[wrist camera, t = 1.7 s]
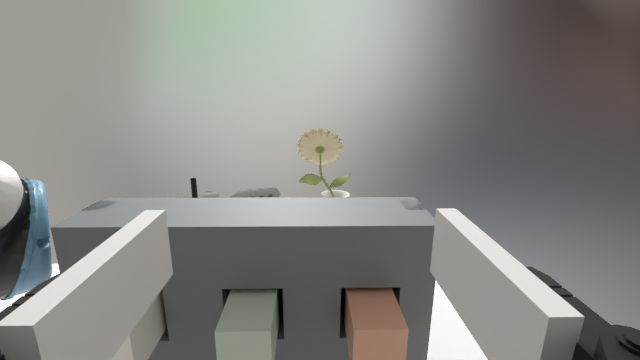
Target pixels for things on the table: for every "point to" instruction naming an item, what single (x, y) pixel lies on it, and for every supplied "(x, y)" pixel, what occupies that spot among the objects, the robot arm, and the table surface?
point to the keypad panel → (275, 264)
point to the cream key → (145, 333)
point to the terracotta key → (374, 324)
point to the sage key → (248, 325)
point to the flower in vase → (322, 158)
